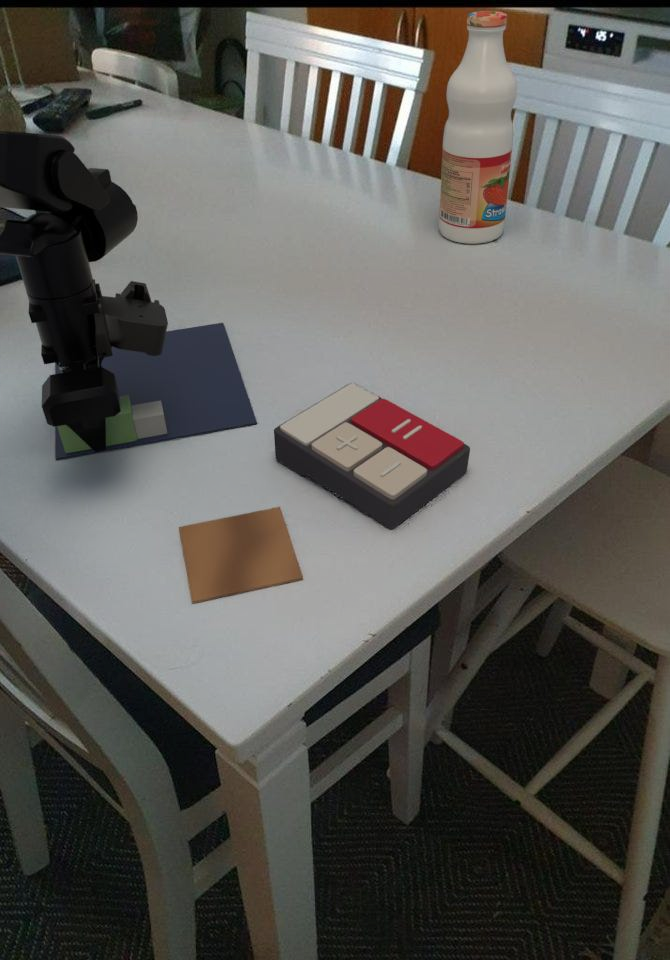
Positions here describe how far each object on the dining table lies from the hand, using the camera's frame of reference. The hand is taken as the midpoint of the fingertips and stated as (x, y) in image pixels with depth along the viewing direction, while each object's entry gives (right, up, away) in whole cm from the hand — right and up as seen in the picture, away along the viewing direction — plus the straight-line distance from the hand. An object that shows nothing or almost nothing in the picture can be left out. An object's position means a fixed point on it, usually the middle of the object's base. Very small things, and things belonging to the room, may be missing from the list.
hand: (99, 430), depth 80 cm
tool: (+1, 0, +1) cm, 2 cm away
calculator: (+27, -4, -4) cm, 27 cm away
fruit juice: (+43, +31, +38) cm, 65 cm away
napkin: (+3, +6, +9) cm, 11 cm away
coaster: (+15, -11, -12) cm, 23 cm away
